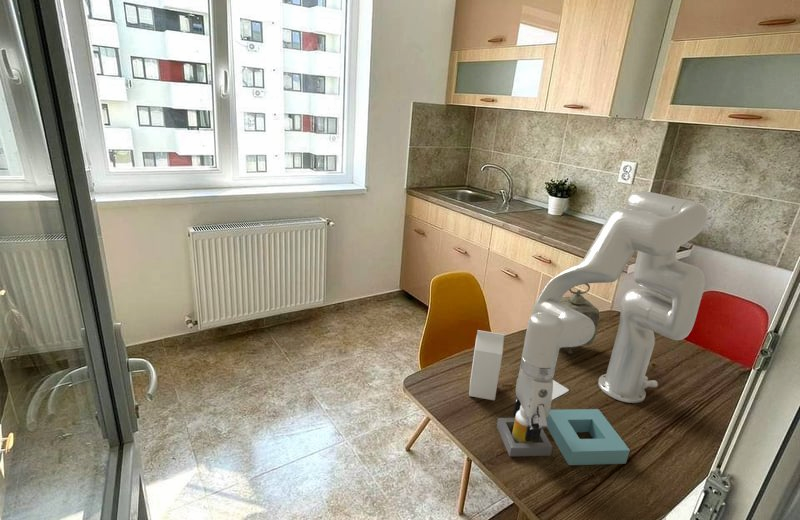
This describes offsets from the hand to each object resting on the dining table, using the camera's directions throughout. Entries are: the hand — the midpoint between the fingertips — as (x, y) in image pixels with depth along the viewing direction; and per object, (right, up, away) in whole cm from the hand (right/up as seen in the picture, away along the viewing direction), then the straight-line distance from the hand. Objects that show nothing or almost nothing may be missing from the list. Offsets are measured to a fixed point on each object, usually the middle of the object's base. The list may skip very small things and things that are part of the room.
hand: (525, 427), depth 105 cm
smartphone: (+11, +2, +20) cm, 23 cm away
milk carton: (-7, +3, +19) cm, 20 cm away
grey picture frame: (0, -4, +1) cm, 4 cm away
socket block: (+15, -4, +2) cm, 16 cm away
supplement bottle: (0, -4, +1) cm, 4 cm away
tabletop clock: (+26, +10, +42) cm, 50 cm away
